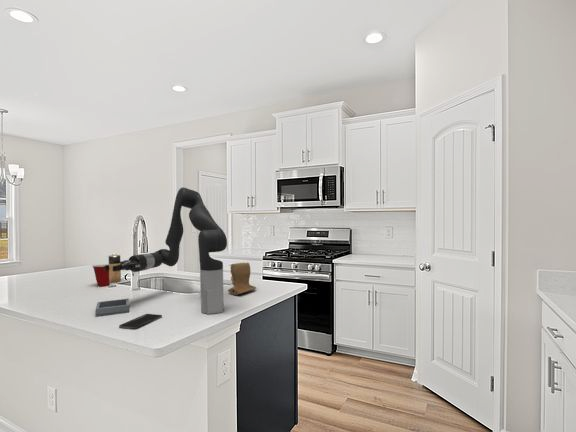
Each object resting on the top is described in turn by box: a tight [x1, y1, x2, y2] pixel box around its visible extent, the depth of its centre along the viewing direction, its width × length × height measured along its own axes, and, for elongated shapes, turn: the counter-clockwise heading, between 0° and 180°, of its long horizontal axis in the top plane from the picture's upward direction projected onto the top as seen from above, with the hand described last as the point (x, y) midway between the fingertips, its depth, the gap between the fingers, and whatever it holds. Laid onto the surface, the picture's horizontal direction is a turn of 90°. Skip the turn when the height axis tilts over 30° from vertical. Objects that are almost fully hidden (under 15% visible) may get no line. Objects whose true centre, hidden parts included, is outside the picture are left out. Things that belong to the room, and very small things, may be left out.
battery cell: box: [108, 253, 122, 284], centre depth 146 cm, size 4×4×12 cm
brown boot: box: [227, 262, 257, 296], centre depth 174 cm, size 15×12×15 cm
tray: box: [95, 298, 130, 318], centre depth 145 cm, size 12×12×3 cm
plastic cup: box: [92, 263, 111, 288], centre depth 195 cm, size 11×11×12 cm
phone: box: [118, 313, 163, 331], centre depth 129 cm, size 8×1×15 cm
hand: (109, 268), depth 144 cm, fingers closed on battery cell, 4 cm apart
